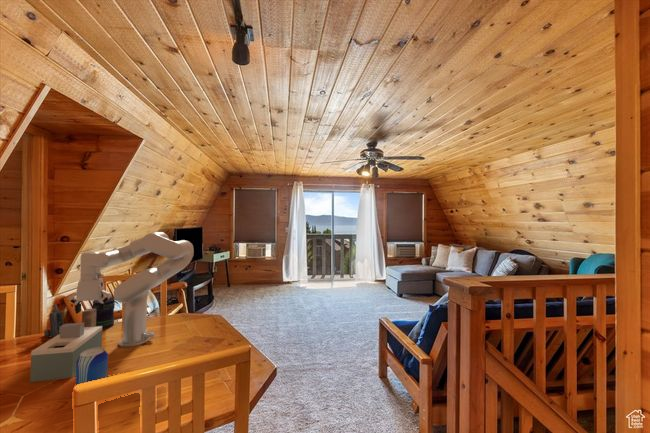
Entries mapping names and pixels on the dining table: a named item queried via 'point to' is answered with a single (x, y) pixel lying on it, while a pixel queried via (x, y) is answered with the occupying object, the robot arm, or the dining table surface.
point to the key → (89, 317)
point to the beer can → (92, 365)
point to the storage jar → (105, 313)
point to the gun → (55, 323)
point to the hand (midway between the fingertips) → (90, 311)
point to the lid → (67, 339)
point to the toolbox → (60, 362)
